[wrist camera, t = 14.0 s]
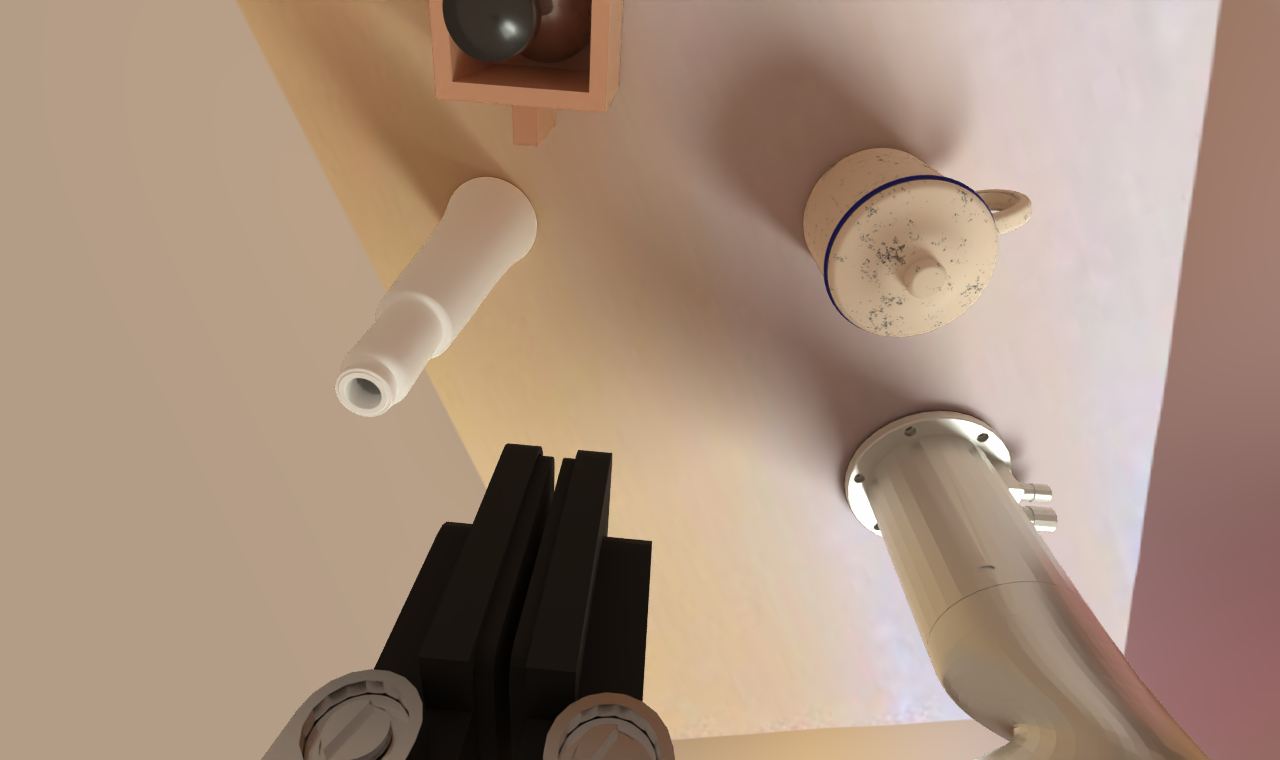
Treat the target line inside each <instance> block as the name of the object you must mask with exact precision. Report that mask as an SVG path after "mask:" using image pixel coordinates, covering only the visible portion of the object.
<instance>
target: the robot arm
mask: <svg viewBox="0 0 1280 760" xmlns="http://www.w3.org/2000/svg"><path fill="white" fill-rule="evenodd" d="M611 471H612V453H605V452H594V451H584V450H578V452H577V455H576V459H571V458H564V459H563V461H562V465H561V469H560V473H559V476H558V480H557V484H556V487H555V491H554V457H550V456H543V451H542V447H541V446H530V445H519V444H506V445H505V447H504V449H503V451H502V454H501V456H500V459H499V461H498V464H497V466H496V468H495V471H494V473H493V476H492V478H491V481H490V483H489V486H488V488H487V490H486V493H485V495H484V498H483V500H482V503H481V505H480V507H479V510H478V512H477V515H476V517H475V520H474V522H473V524H466V523H455V522H446V523H445V524H443V525H442V527H441V529H440V530H439V532H438V534H437V536H436V538H435V540H434V543H433V545H432V547H431V549H430V551H429V553H428V555H427V558H426V559H425V562H424V564H423V566H422V568H421V570H420V572H419V574H418V577H417V579H416V581H415V583H414V585H413V587H412V589H411V591H410V594H409V596H408V598H407V600H406V602H405V604H404V606H403V608H402V610H401V613H400V615H399V617H398V619H397V621H396V623H395V626H394V628H393V630H392V632H391V634H390V636H389V638H388V640H387V642H386V645H385V647H384V649H383V651H382V653H381V655H380V657H379V660H378V662H377V664H376V666H375V668H374V670H373V669H371V670H364V671H358V672H352V673H349V674H346V675H344V676H342V677H339V678H337V679H334V680H332V681H330V682H329V683H327V684H326V685H324V686H323V687H321V688H320V689H319V690H317V691H316V692H314V693H313V694H312V695H311V696H310V697H309V698H308V699H307V700H306V701H305V702H304V703H303V704H302V706H301V707H300V708H299V709H298V710H297V711H296V712H295V714H294V715H293V717H292V718H291V719H290V721H289V722H288V724H287V725H286V726H285V728H284V729H283V730H282V732H281V733H280V734H279V736H278V737H277V739H276V740H275V741H274V743H273V744H272V745H271V747H270V748H269V750H268V751H267V752H266V754H265V755H264V757H263V758H262V759H261V760H675V756H674V749H673V745H672V742H671V738H670V735H669V732H668V729H667V727H666V726H665V724H664V723H663V721H662V720H661V718H660V717H659V716H658V714H657V713H656V712H655V711H654V710H652V709H651V708H650V707H649V706H647V705H646V704H645V703H644V702H642V701H643V684H644V667H645V651H646V634H647V617H648V601H649V584H650V568H651V551H652V541H645V540H635V539H624V538H613V537H607V533H608V517H609V502H610V486H611ZM844 486H845V493H846V498H847V500H848V503H849V506H850V509H851V511H852V512H853V514H854V516H855V517H856V519H857V520H858V521H859V522H860V523H861V524H862V525H863V526H864V527H865V528H867V529H868V530H870V531H871V532H873V533H875V534H877V535H880V536H882V537H883V539H884V542H885V545H886V547H887V550H888V552H889V555H890V557H891V560H892V563H893V565H894V568H895V570H896V573H897V575H898V578H899V581H900V583H901V586H902V588H903V591H904V593H905V596H906V599H907V601H908V604H909V606H910V609H911V611H912V614H913V617H914V619H915V622H916V624H917V627H918V629H919V632H920V635H921V637H922V640H923V642H924V645H925V647H926V650H927V653H928V655H929V657H930V660H931V663H932V665H933V668H934V670H935V673H936V675H937V677H938V679H939V681H940V683H941V685H942V686H943V688H944V689H945V691H946V692H947V694H948V695H949V696H950V697H951V699H952V700H953V701H954V702H955V703H956V704H957V705H958V706H959V707H960V708H961V709H962V710H963V711H964V712H965V713H967V714H968V715H969V716H970V717H971V718H973V719H974V720H975V721H977V722H979V723H980V724H981V725H983V726H985V727H986V728H988V729H989V730H991V731H992V732H994V733H996V734H997V735H999V736H1001V737H1003V738H1005V739H1006V740H1008V741H1010V742H1009V743H1008V744H1006V745H1005V746H1002V747H1000V748H998V749H995V750H993V751H991V752H988V753H986V754H984V756H981V757H979V758H976V759H974V760H1211V759H1210V758H1209V757H1208V756H1207V755H1206V754H1205V753H1204V752H1203V750H1202V749H1201V748H1200V747H1199V746H1198V745H1197V744H1196V743H1195V742H1194V741H1193V740H1192V738H1191V737H1190V736H1189V735H1188V734H1187V733H1186V732H1185V731H1184V730H1183V729H1182V727H1181V726H1180V725H1179V724H1178V723H1177V722H1176V721H1175V719H1174V718H1173V717H1172V716H1171V715H1170V714H1169V713H1168V711H1167V710H1166V709H1165V708H1164V706H1163V705H1162V704H1161V703H1160V702H1159V700H1158V699H1157V698H1156V697H1155V696H1154V694H1153V693H1152V692H1151V691H1150V690H1149V688H1148V687H1147V686H1146V685H1145V684H1144V682H1143V681H1142V680H1141V679H1140V677H1139V676H1138V675H1137V673H1136V672H1135V670H1134V669H1133V668H1132V667H1131V665H1130V664H1129V662H1128V661H1127V659H1126V658H1125V657H1124V655H1123V654H1122V653H1121V651H1120V650H1119V649H1118V647H1117V646H1116V644H1115V643H1114V642H1113V640H1112V639H1111V638H1110V636H1109V635H1108V633H1107V632H1106V631H1105V629H1104V628H1103V626H1102V625H1101V623H1100V622H1099V620H1098V619H1097V618H1096V616H1095V615H1094V613H1093V612H1092V610H1091V609H1090V607H1089V606H1088V604H1087V603H1086V602H1085V600H1084V599H1083V597H1082V596H1081V594H1080V593H1079V591H1078V590H1077V588H1076V587H1075V585H1074V584H1073V583H1072V581H1071V580H1070V578H1069V577H1068V575H1067V574H1066V572H1065V571H1064V569H1063V568H1062V566H1061V565H1060V563H1059V562H1058V560H1057V559H1056V557H1055V556H1054V555H1053V553H1052V552H1051V550H1050V549H1049V547H1048V546H1047V544H1046V543H1045V541H1044V540H1043V538H1042V537H1041V535H1040V534H1039V532H1048V533H1051V532H1053V531H1054V530H1055V529H1056V526H1057V515H1056V513H1055V511H1054V510H1053V509H1052V508H1046V507H1033V506H1025V507H1021V506H1020V504H1019V501H1020V500H1027V501H1029V502H1041V503H1048V502H1049V501H1050V500H1051V497H1052V491H1051V488H1050V487H1049V486H1048V485H1043V484H1020V482H1019V481H1018V480H1016V479H1015V478H1014V476H1013V475H1012V461H1011V458H1010V454H1009V451H1008V449H1007V447H1006V446H1005V444H1004V442H1003V441H1002V439H1001V438H1000V437H999V436H998V434H997V433H996V432H995V431H994V430H993V429H992V428H991V427H990V426H988V425H987V424H986V423H984V422H983V421H981V420H979V419H977V418H974V417H972V416H970V415H966V414H962V413H958V412H949V411H932V412H922V413H918V414H914V415H909V416H906V417H904V418H901V419H898V420H896V421H893V422H891V423H890V424H888V425H886V426H884V427H883V428H881V429H879V430H878V431H876V432H875V433H874V434H873V435H871V436H870V437H869V438H868V439H866V440H865V442H864V443H863V444H862V445H861V446H860V447H859V448H858V449H857V451H856V452H855V454H854V456H853V457H852V459H851V461H850V463H849V465H848V468H847V471H846V475H845V485H844Z"/></svg>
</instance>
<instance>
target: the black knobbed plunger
mask: <svg viewBox="0 0 1280 760" xmlns="http://www.w3.org/2000/svg"><path fill="white" fill-rule="evenodd" d="M442 10H443V17H444V22H445V25H446V28H447V30H448V32H449V34H450V36H451V38H452V39H453V41H454V42H455V43H456V45H457V46H458V47H459V48H460V49H461V50H462V51H464V52H465V53H466V54H468V55H469V56H471V57H473V58H475V59H477V60H480V61H484V62H499V61H502V60H505V59H508V58H510V57H512V56H515V55H517V54H521V55H522V56H524V57H526V58H528V59H530V60H532V61H536V62H540V63H557V62H561V61H564V60H566V59H569V58H571V57H572V56H574V55H575V54H577V53H578V52H579V51H580V50H581V49H583V47H584V46H585V45H586V44H587V43H588V41H589V40H590V38H591V14H592V0H443V3H442Z"/></svg>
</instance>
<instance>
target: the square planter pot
mask: <svg viewBox="0 0 1280 760" xmlns="http://www.w3.org/2000/svg"><path fill="white" fill-rule="evenodd" d="M442 3H443V0H429V11H430V24H431V36H432V49H433V62H434V75H435V88H436V99H444V100H457V101H469V102H482V103H494V104H507V105H513V138H514V144H515V145H528V146H538V145H539V144H540V143H541V142H542V140H543V139H544V138H545V137H546V136H547V134H548V133H549V132H550V131H551V130H552V128H553V127H554V126H555V108H557V109H569V110H582V111H594V112H606V111H607V109H608V107H609V105H610V103H611V101H612V99H613V97H614V95H615V93H616V91H617V89H618V87H619V79H620V59H621V39H622V19H623V0H592V14H591V38H590V40H589V41H588V43H587V44H586V45H585V46H584V47H583V49H581V50H580V51H579V52H578V53H577V54H575V55H574V56H572V57H571V58H569V59H566V60H564V61H561V62H557V63H540V62H536V61H532V60H530V59H528V58H526V57H524V56H522V55H521V54H517V55H515V56H512V57H510V58H508V59H505V60H502V61H499V62H484V61H480V60H477V59H475V58H473V57H471V56H469V55H468V54H466V53H465V52H464V51H462V50H461V49H460V48H459V47H458V46H457V45H456V43H455V42H454V41H453V39H452V38H451V36H450V34H449V32H448V30H447V28H446V25H445V22H444V17H443V10H442Z"/></svg>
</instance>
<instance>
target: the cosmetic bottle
mask: <svg viewBox="0 0 1280 760" xmlns="http://www.w3.org/2000/svg"><path fill="white" fill-rule="evenodd" d="M536 234H537V220H536V215H535V212H534V209H533V207H532V205H531V203H530V201H529V200H528V199H527V197H526V196H525V195H524V194H523V193H522V192H521V191H520V190H519V189H518V188H517V187H515V186H514V185H512V184H511V183H509V182H507V181H504V180H502V179H498V178H494V177H479V178H474V179H471V180H469V181H467V182H465V183H463V184H462V185H461V186H459V187H458V188H457V189H456V190H455V192H454V193H453V194H452V196H451V198H450V200H449V202H448V205H447V209H446V211H445V213H444V215H443V217H442V219H441V221H440V222H439V224H438V226H437V227H436V229H435V230H434V231H433V233H432V234H431V236H430V237H429V238H428V240H427V241H426V242H425V244H424V245H423V246H422V247H421V249H420V250H419V251H418V253H417V254H416V255H415V256H414V258H413V259H412V260H411V262H410V263H409V264H408V265H407V267H406V268H405V269H404V270H403V272H402V273H401V274H400V276H399V277H398V278H397V280H396V281H395V282H394V284H393V285H392V286H391V288H390V289H389V291H388V292H387V293H386V295H385V296H384V298H383V299H382V301H381V302H380V304H379V305H378V308H377V310H376V317H375V323H374V324H373V325H372V327H371V328H370V329H369V330H368V331H367V332H366V333H365V335H364V336H363V337H362V338H361V339H360V340H359V341H358V343H357V344H356V345H355V346H354V347H353V348H352V349H351V350H350V352H349V353H348V354H347V355H346V357H345V358H344V360H343V362H342V365H341V373H340V374H339V376H338V377H337V379H336V382H335V391H336V395H337V397H338V399H339V401H340V402H341V403H342V404H343V405H344V406H345V407H346V408H347V409H348V410H350V411H351V412H353V413H355V414H358V415H361V416H366V417H373V416H378V415H381V414H383V413H385V412H386V411H387V410H388V409H389V408H390V406H392V405H394V404H396V403H398V402H399V401H401V400H402V399H403V398H404V397H405V396H406V395H407V393H408V392H409V390H410V389H411V387H412V386H413V384H414V383H415V381H416V379H417V378H418V376H419V375H420V373H421V372H422V370H423V369H424V367H425V366H426V364H427V362H428V361H429V359H432V358H435V357H437V356H439V355H440V354H442V353H443V352H444V351H445V350H446V349H447V348H448V347H449V346H450V344H451V343H452V342H453V341H454V339H455V338H456V337H457V336H458V334H459V333H460V332H461V330H462V329H463V328H464V326H465V325H466V324H467V322H468V321H469V320H470V318H471V317H472V316H473V314H474V313H475V312H476V310H477V309H478V307H479V306H480V305H481V303H482V302H483V301H484V299H485V298H486V296H487V295H488V294H489V292H490V291H491V290H492V288H493V287H494V286H495V284H496V283H497V282H498V281H499V279H500V278H501V277H502V276H503V275H504V273H505V272H506V271H507V270H508V269H509V268H510V267H511V266H512V265H513V264H515V263H516V262H517V261H519V260H520V259H522V258H523V257H524V256H525V255H526V254H527V253H528V252H529V251H530V249H531V248H532V246H533V244H534V241H535V238H536Z"/></svg>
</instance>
